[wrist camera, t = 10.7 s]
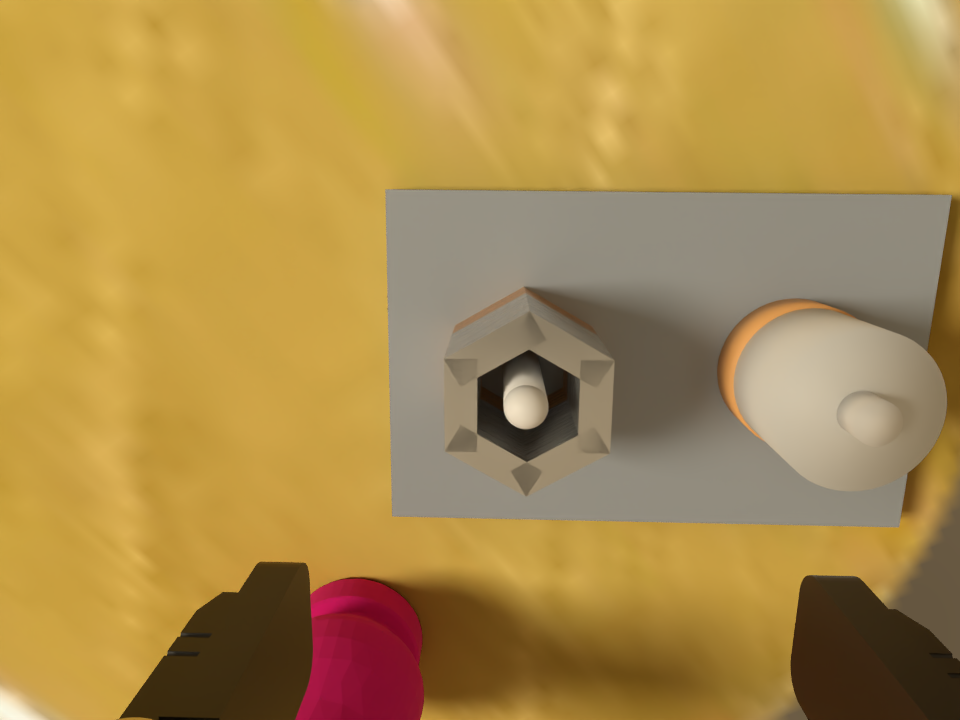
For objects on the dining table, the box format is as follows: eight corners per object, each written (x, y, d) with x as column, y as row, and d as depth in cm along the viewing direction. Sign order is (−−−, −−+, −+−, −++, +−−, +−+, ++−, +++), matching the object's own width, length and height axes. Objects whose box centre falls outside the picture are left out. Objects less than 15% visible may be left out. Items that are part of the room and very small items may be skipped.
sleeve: (455, 437, 30) (444, 495, 25) (454, 286, 29) (443, 310, 23) (587, 438, 30) (607, 498, 24) (593, 286, 29) (616, 311, 23)
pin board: (391, 189, 30) (347, 189, 21) (929, 194, 29) (1105, 196, 21) (397, 501, 33) (361, 610, 24) (880, 511, 32) (1016, 626, 24)
